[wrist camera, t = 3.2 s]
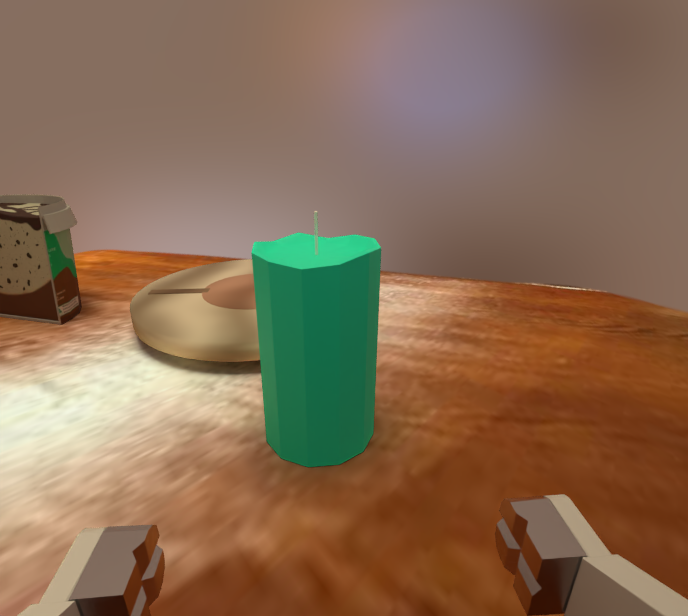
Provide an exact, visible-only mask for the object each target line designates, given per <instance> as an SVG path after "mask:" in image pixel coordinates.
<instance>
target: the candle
mask: <svg viewBox="0 0 688 616" xmlns="http://www.w3.org/2000/svg"><path fill="white" fill-rule="evenodd" d="M317 220H318V219H317V211H315V212H314V224H315V236H314V235H309V234H303V233H296V234H293V235H290V236H287V237H284V238H281V239H278V240H275V241H272V242H254V245H253V249H252V264H253V276H254V289H255V301H256V314H257V326H258V339H259V351H260V364H261V376H262V389H263V401H264V414H265V426H266V438H267V442H268V444H269V445H270V446H271V447H272V448H273V449H274V451H275V452H276V453H277V454H278V455H279V457H280V458H282V459H285V460H288V461H291V462H294V463H297V464H300V465H303V466H306V467H317V466H329V465H340V464H341V463H343V462H345V461H347V460H349V459H351V458H353V457H354V456H356V455H358V454H360V453H362V452H363V451H364V450H365V448H366V446H367V444H368V442H369V441H370V439H371V437H372V435H373V430H374V406H375V383H376V359H377V335H378V311H379V288H380V263H381V247H380V246H379V244H378V243H377V241H376V240H375V239H374V238H369V237H364V236H359V235H348V236H341V237H333V238H325V237H319V236H318V221H317Z"/></svg>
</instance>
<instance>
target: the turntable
mask: <svg viewBox="0 0 688 616" xmlns="http://www.w3.org/2000/svg"><path fill="white" fill-rule="evenodd" d="M130 313H131V318H132V323H133V327H134V330H135V333H136V335H137V336H138V337H139V338H140V340H142V341H143V342H144V343H146V344H147V345H148V346H150V347H152V348H154V349H156V350H159V351H161V352H164V353H167V354H170V355H174V356H179V357H183V358H188V359H196V360H203V361H219V362H242V361H256V360H260V351H259V339H258V326H257V314H256V301H255V289H254V276H253V264H252V259H246V260H235V261H227V262H220V263H213V264H208V265H203V266H198V267H194V268H190V269H186V270H183V271H179V272H176V273H173V274H170V275H168V276H165V277H163V278H160V279H158V280H156V281H154V282H152V283H151V284H149V285H147V286H146V287H144V288H143V289H142V290H140V291H139V292H138V293H137V294H136V295H135V296H134V298H133V299H132V301H131V303H130Z"/></svg>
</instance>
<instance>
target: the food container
mask: <svg viewBox="0 0 688 616" xmlns="http://www.w3.org/2000/svg"><path fill="white" fill-rule="evenodd" d="M76 224H77V220H76V218H75V216H74V214H73V212H72V210H71V208H70V206H69V205H67V204H66V203H65V201H64V198H63V197H59V196H52V195H26V194H25V195H0V317H6V318H14V319H21V320H29V321H37V322H44V323H52V324H60V325H62V324H64V323H66V322H68V321H69V320H71V319H73V318H74V317H75V316H76V315H77V314H79V313H80V310H81V300H80V294H79V287H78V280H77V274H76V267H75V260H74V254H73V247H72V240H71V234H70V228H71V227H73V226H75V225H76Z"/></svg>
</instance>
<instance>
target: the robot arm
mask: <svg viewBox="0 0 688 616" xmlns="http://www.w3.org/2000/svg"><path fill="white" fill-rule="evenodd" d="M499 511H500V513H501V515H502V517H503V518H502V519H501V520H500V521H499V522H498V523H497V525H496V532H495V538H496V546H497V550H498V553H499V556H500V559H501V561H502V563H503V565H504V567H505V568H506V569H507V570H509V571H510V572H511V573H512V574H513V575H515V579H514V584H513V587H514V589H515V591H516V593H517V595H518V597H519V600H520V602H521V604H522V606H523V608H524V610H525V612H526V614H527V616H533V615H549V614H564V616H688V600H687V599H685V598H684V597H682V596H681V595H679V594H678V593H676V592H675V591H673V590H672V589H670V588H669V587H667V586H665V585H664V584H662V583H661V582H659V581H658V580H656V579H655V578H653V577H652V576H650V575H649V574H647V573H646V572H644V571H642V570H641V569H639V568H638V567H636V566H635V565H633V564H632V563H630V562H629V561H627V560H626V559H624V558H622V557H621V556H619V555H611V553H610V552H609V551H608V549H607V548H606V547H605V545H604V544H603V543H602V541H601V540H600V539H599V537H598V536H597V534H596V533H595V532H594V530H593V529H592V528H591V526H590V525H589V524H588V522H587V521H586V520H585V518H584V517H583V516H582V514H581V513H580V512H579V510H578V509H577V508H576V506H575V505H574V504H573V502H572V501H571V499H570V498H569V497H567V496H566V495H564V494H563V495H549V496H533V497H521V498H509V499H504V500H503V501H502V502H501V505H500V510H499ZM158 539H159V532H158V529H157V525H137V526H115V527H99V528H85V529H83V530H82V531H81V532H80V533H79V534H78V535H77V537H76V539H75V540H74V542H73V544H72V546H71V548H70V549H69V551H68V553H67V555H66V556H65V558H64V560H63V562H62V563H61V565H60V567H59V569H58V570H57V572H56V574H55V576H54V577H53V579H52V581H51V583H50V585H49V586H48V588H47V590H46V592H45V593H44V595H43V597H42V599H41V600H40V602H39V604H31V605H30V606H28V607H27V608H26V609H25V610H24V611H22V612H21V613H20V614H19V615H18V616H151V614H150V610H149V606H150V605H151V604H152V603H153V602H154V601H155V600H156V599H157V598H158V596H159V593H160V590H161V586H162V583H163V576H164V569H165V560H164V553H163V549H161V548H160V547H159V546H157V545H156V544H157V541H158Z"/></svg>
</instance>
